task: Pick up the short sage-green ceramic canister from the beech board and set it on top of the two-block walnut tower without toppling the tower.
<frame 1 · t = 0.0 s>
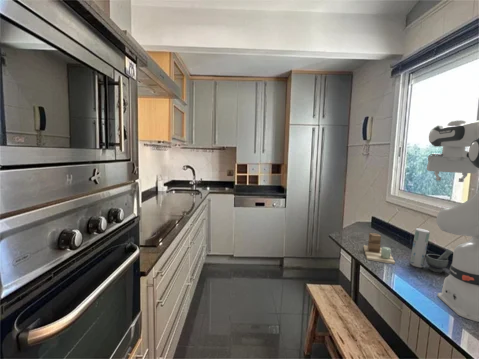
hand: (449, 181, 133), 48 cm above the table, fingers open, 8 cm apart
base block: (373, 250, 162), point 1 cm above the table, touching board, top block
top block: (374, 242, 161), point 6 cm above the table, touching base block
canister: (385, 257, 151), point 1 cm above the table, touching board
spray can: (416, 265, 145), on the table
mortar and pestle: (437, 270, 140), on the table
board: (377, 254, 157), on the table
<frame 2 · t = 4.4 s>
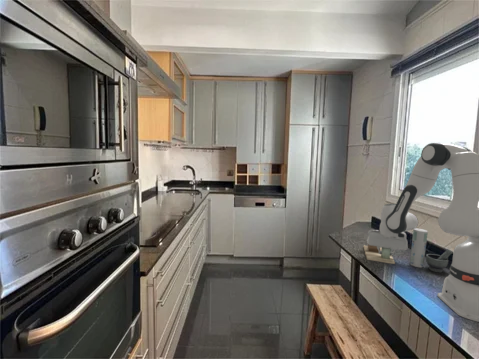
hand: (385, 254, 150), 3 cm above the table, fingers closed on canister, 5 cm apart
canister: (385, 257, 151), point 1 cm above the table, touching board, gripper
everything else where it was.
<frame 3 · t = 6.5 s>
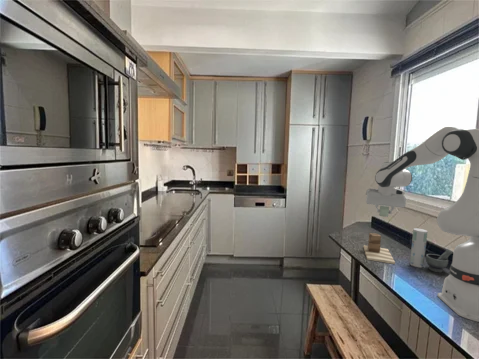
hand: (383, 213, 153), 26 cm above the table, fingers closed on canister, 5 cm apart
canister: (383, 215, 153), point 25 cm above the table, touching gripper
everything else where it was.
when the fingers open (14 cm above the table, at t = 8.9 s): canister drops 1 cm, resting on top block.
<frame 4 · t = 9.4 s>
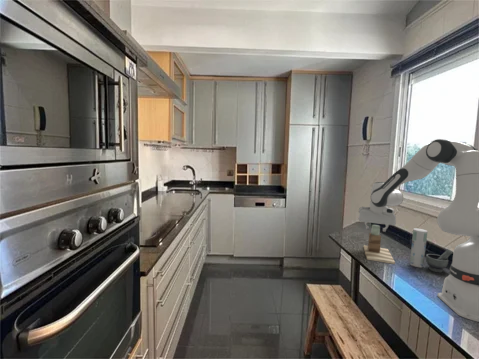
hand: (375, 230, 160), 14 cm above the table, fingers open, 8 cm apart
top block: (374, 242, 161), point 6 cm above the table, touching base block, canister
canister: (375, 234, 161), point 11 cm above the table, touching top block
everything else where it was.
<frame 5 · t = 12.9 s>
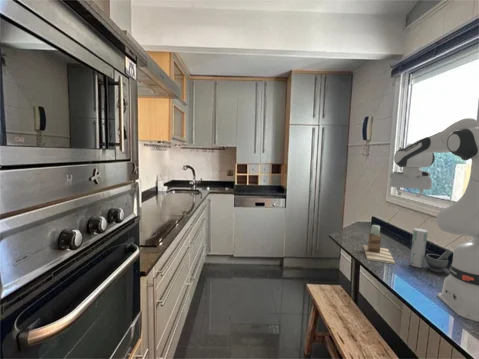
hand: (408, 196, 151), 37 cm above the table, fingers open, 8 cm apart
nothing on the table moved.
at the end: canister 0.0 cm off-centre on the top block, point 5.0 cm above the top block's base; top block tilted 0°; the gripper is holding nothing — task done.
